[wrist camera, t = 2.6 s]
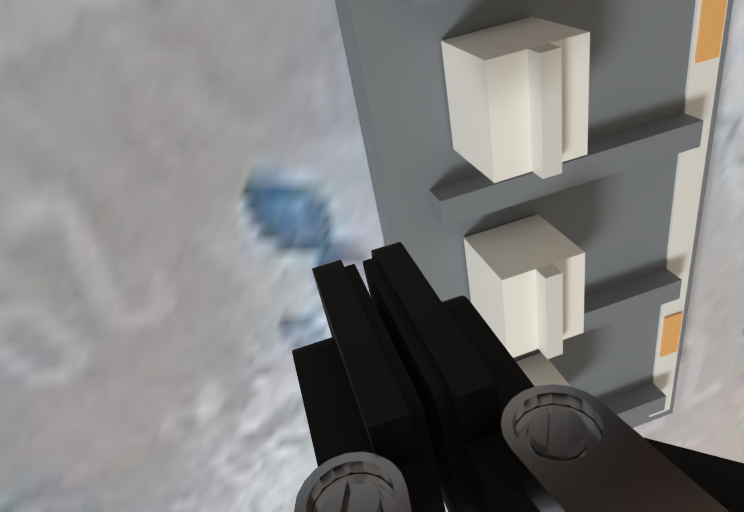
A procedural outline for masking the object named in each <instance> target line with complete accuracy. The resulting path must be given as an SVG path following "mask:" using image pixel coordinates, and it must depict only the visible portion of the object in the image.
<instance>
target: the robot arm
mask: <svg viewBox="0 0 744 512" xmlns="http://www.w3.org/2000/svg"><path fill="white" fill-rule="evenodd" d="M363 266H364V271H365V275H366V279H367V283H368V287H369V292H370V295H369V292H368V290H367V288H366V286H365V284H364V282H363V280H362V278H361V276H360V274H359V272H358V270H357V268H356V266H355V264H352V265H349V266H346V267H344V265H343V263H342V261H341V260H338V261H335V262H332V263H329V264H325V265H322V266H319V267H316V268H312V270H313V274H314V277H315V281H316V284H317V287H318V291H319V294H320V298H321V301H322V304H323V308H324V311H325V315H326V318H327V321H328V325H329V328H330V331H331V335H332V338H329V339H326V340H322V341H319V342H316V343H313V344H310V345H307V346H304V347H301V348H298V349H295V350H292V353H293V358H294V363H295V367H296V372H297V376H298V381H299V385H300V389H301V394H302V398H303V403H304V407H305V411H306V416H307V420H308V425H309V429H310V434H311V438H312V442H313V447H314V451H315V456H316V460H317V464H318V467H317V468H316V469H315V470H314V471H313V472H312V473H311V474H310V476H309V477H308V478H307V479H306V480H305V481H304V483H303V485H302V487H301V489H300V491H299V493H298V495H297V498H296V504H295V510H294V512H446V511H445V506H444V503H445V505H446V507H447V510H448V512H744V463H740V462H736V461H732V460H728V459H724V458H721V457H717V456H713V455H709V454H705V453H701V452H697V451H693V450H690V449H686V448H682V447H678V446H674V445H670V444H666V443H663V442H659V441H655V440H651V439H647V438H643V437H642V436H641V435H640V434H639V433H637V432H636V431H635V430H634V429H633V428H632V427H630V426H629V425H628V424H627V423H626V422H625V421H623V420H622V419H621V418H620V417H619V416H618V415H616V414H615V413H614V412H613V411H612V410H611V409H610V408H608V407H607V406H606V405H605V404H604V403H603V402H601V401H600V400H598V399H597V398H595V397H594V396H592V395H591V394H589V393H588V392H586V391H583V390H580V389H577V388H574V387H572V386H564V385H556V384H552V385H541V386H536V387H535V386H534V385H533V384H532V382H531V381H530V380H529V378H528V377H527V376H526V374H525V373H524V372H523V370H522V369H521V368H520V366H519V365H518V364H517V362H516V361H515V360H514V358H513V357H512V356H511V354H510V353H509V352H508V351H507V349H506V348H505V347H504V345H503V344H502V343H501V341H500V340H499V339H498V337H497V336H496V335H495V333H494V332H493V331H492V329H491V328H490V327H489V325H488V324H487V323H486V321H485V320H484V319H483V318H482V316H481V315H480V314H479V312H478V311H477V310H476V308H475V307H474V306H473V304H472V303H471V302H470V300H469V299H468V298H467V297H466V296H463V295H461V296H458V297H455V298H452V299H449V300H446V301H443V302H442V301H441V300H440V299H439V297H438V296H437V294H436V293H435V291H434V290H433V288H432V287H431V285H430V284H429V282H428V281H427V279H426V278H425V276H424V275H423V273H422V272H421V270H420V269H419V267H418V266H417V265H416V263H415V262H414V260H413V259H412V257H411V256H410V254H409V253H408V251H407V250H406V248H405V247H404V245H403V244H402V243H401V242H397V243H394V244H391V245H387V246H384V247H381V248H378V249H374V250H372V259H368V260H365V261H363ZM370 296H371V297H370Z"/></svg>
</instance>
